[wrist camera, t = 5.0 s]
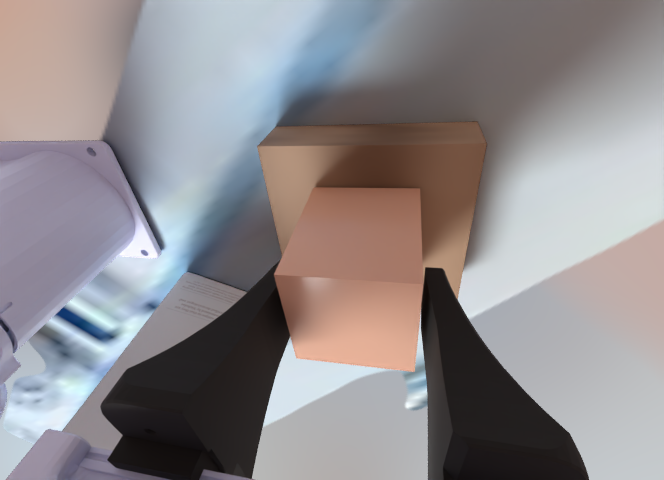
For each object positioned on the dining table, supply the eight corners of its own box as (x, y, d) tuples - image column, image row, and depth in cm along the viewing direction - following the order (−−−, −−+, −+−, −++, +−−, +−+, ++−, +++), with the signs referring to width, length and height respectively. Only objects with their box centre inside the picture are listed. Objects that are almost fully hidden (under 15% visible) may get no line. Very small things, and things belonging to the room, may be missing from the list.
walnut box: (304, 262, 22) (291, 296, 20) (279, 122, 17) (257, 146, 14) (450, 271, 20) (455, 310, 18) (475, 117, 15) (486, 143, 12)
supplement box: (184, 267, 24) (20, 473, 14) (284, 303, 24) (194, 530, 14) (183, 327, 28) (60, 514, 18) (267, 356, 29) (190, 556, 19)
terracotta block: (324, 264, 18) (296, 358, 13) (313, 187, 15) (273, 274, 11) (413, 269, 17) (414, 372, 12) (420, 188, 14) (423, 284, 10)
